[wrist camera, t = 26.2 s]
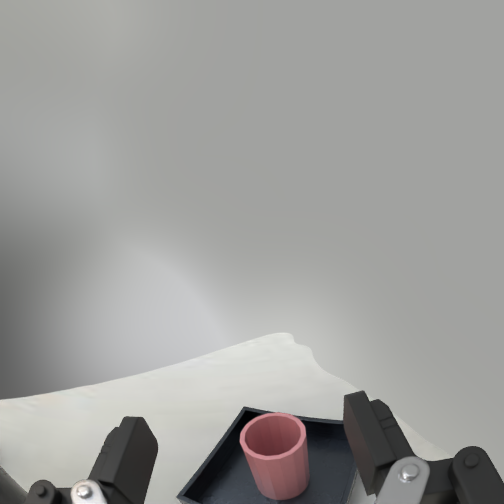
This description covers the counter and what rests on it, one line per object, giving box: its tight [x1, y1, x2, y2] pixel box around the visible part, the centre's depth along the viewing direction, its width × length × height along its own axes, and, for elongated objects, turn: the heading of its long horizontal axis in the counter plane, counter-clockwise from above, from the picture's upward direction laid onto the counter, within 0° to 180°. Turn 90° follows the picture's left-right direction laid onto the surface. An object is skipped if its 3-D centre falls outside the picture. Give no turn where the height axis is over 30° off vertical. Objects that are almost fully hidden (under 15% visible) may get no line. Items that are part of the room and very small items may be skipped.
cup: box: [240, 412, 310, 500], centre depth 25 cm, size 6×6×10 cm
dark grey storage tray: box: [176, 407, 358, 504], centre depth 26 cm, size 17×17×4 cm
